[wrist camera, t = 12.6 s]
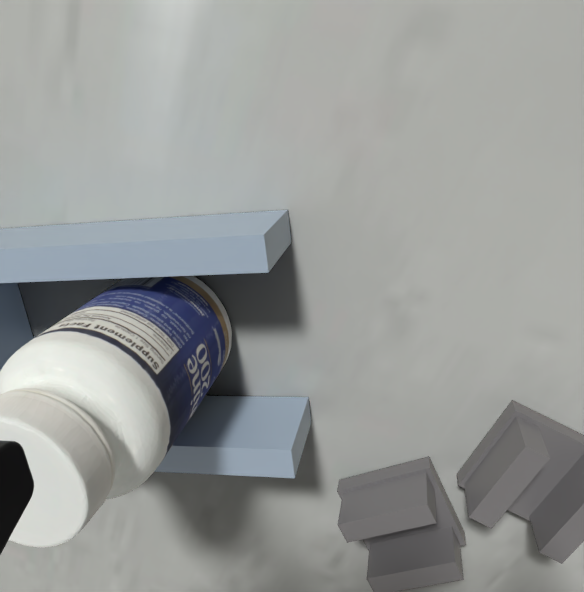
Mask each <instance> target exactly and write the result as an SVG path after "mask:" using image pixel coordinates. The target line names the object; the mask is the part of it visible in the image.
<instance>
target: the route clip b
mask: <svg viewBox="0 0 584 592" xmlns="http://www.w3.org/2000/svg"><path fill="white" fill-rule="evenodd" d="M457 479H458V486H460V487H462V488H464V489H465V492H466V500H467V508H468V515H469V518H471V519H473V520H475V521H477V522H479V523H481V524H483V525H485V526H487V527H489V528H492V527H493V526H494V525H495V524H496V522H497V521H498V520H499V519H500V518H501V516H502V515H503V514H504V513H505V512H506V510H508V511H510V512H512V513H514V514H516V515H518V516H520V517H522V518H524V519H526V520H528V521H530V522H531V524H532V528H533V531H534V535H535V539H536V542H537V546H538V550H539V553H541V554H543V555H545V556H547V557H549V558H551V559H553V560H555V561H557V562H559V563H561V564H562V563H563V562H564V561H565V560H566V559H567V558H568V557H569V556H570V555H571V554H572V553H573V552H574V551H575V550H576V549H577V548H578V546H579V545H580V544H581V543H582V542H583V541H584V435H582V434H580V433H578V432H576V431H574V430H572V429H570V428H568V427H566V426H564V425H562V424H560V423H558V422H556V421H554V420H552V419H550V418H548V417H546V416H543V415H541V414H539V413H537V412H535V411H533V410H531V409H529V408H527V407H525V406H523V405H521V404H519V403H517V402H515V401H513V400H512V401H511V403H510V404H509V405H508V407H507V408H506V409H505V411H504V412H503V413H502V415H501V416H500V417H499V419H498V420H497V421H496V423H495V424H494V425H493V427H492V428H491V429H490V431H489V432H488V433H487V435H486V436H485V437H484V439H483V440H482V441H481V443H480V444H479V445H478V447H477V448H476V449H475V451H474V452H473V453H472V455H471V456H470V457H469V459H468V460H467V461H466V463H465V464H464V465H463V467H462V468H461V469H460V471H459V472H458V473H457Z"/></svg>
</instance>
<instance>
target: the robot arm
mask: <svg viewBox="0 0 584 592" xmlns="http://www.w3.org/2000/svg"><path fill="white" fill-rule="evenodd" d="M33 491H34V480H33V477H32V474H31V471H30V468H29V465H28V462H27V458H26V455H25V452H24V449H23V447H22V446H21V445H20V444H19V443H18V442H16V441H1V440H0V554H1V553H2V551H3V549H4V547H5V545H6V543H7V542H8V540H9V538H10V536H11V534H12V532H13V531H14V529H15V527H16V525H17V523H18V521H19V520H20V518H21V516H22V514H23V512H24V510H25V508H26V507H27V505H28V503H29V501H30V499H31V497H32V494H33Z"/></svg>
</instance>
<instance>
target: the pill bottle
mask: <svg viewBox="0 0 584 592" xmlns="http://www.w3.org/2000/svg"><path fill="white" fill-rule="evenodd" d="M231 337H232V330H231V324H230V320H229V317H228V315H227V312H226V310H225V308H224V306H223V305H222V303H221V301H220V300H219V299H218V297H217V296H216V294H215V293H214V292H213V291H212V290H211V289H210V288H209V287H208V286H207V285H206V284H204V283H203V282H202V281H200V280H199V279H197V278H196V277H194V276H169V277H144V278H124V279H123V280H121V281H119V282H117V283H116V284H114V285H113V286H112V287H110V288H109V289H107V290H105V291H104V292H103V293H101V294H100V295H98V296H97V297H95V298H93V299H92V300H90V301H89V302H87V303H86V304H84V305H83V306H81V307H80V308H79V309H77V310H76V311H74V312H72V313H71V314H70V315H68V316H67V317H65V318H64V319H62V320H61V321H59V322H58V323H56V324H55V325H53V326H52V327H50V328H49V329H47V330H46V331H44V332H43V333H41V334H40V335H38V336H37V337H35V338H33V339H32V340H31V341H29V342H28V343H26V344H25V345H24V346H22V347H21V348H20V349H19V350H17V351H16V352H15V353H14V354H13V355H12V356H11V357H10V358H9V359H8V360H7V362H6V363H5V365H4V366H3V367H2V369H1V371H0V440H1V441H16V442H18V443H19V444H20V445H21V446H22V447H23V449H24V452H25V455H26V458H27V462H28V465H29V468H30V471H31V474H32V477H33V480H34V491H33V494H32V497H31V499H30V501H29V503H28V505H27V507H26V508H25V510H24V512H23V514H22V516H21V518H20V520H19V521H18V523H17V525H16V527H15V529H14V531H13V532H12V534H11V536H10V538H9V541H12V542H15V543H18V544H21V545H25V546H31V547H38V548H43V547H53V546H58V545H61V544H63V543H65V542H67V541H69V540H71V539H72V538H73V537H75V536H76V535H77V534H78V533H79V532H80V531H81V530H82V529H83V528H84V526H85V525H86V524H87V523H88V522H89V520H90V519H91V518H92V517H93V515H94V514H95V513H96V512H97V510H98V509H99V508H100V507H101V505H102V504H103V503H104V501H105V500H106V499H111V498H116V497H119V496H122V495H125V494H127V493H129V492H131V491H133V490H134V489H136V488H137V487H139V486H140V485H142V484H143V483H144V482H145V481H146V480H147V479H148V478H149V477H150V476H151V475H152V473H153V472H154V471H155V470H156V468H157V467H158V466H159V465H160V463H161V462H162V460H163V459H164V457H165V456H166V454H167V453H168V451H169V450H170V448H171V447H172V445H173V443H174V442H175V440H176V439H177V437H178V436H179V434H180V433H181V431H182V430H183V428H184V427H185V425H186V424H187V422H188V421H189V419H190V418H191V417H192V415H193V414H194V412H195V411H196V409H197V407H198V406H199V404H200V403H201V401H202V399H203V398H204V396H205V395H206V393H207V392H208V390H209V389H210V387H211V386H212V384H213V383H214V381H215V380H216V378H217V377H218V375H219V373H220V372H221V370H222V368H223V366H224V365H225V363H226V361H227V359H228V356H229V353H230V349H231Z"/></svg>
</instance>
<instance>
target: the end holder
mask: <svg viewBox="0 0 584 592" xmlns="http://www.w3.org/2000/svg"><path fill="white" fill-rule="evenodd" d="M290 243H291V233H290V224H289V215H288V210H276V211H260V212H245V213H230V214H215V215H200V216H185V217H169V218H154V219H139V220H124V221H109V222H94V223H79V224H63V225H48V226H33V227H18V228H3V229H0V371H1V369H2V367H3V366H4V365H5V363H6V362H7V360H8V359H9V358H10V357H11V356H12V355H13V354H14V353H15V352H16V351H17V350H19V349H20V348H21V347H22V346H24V345H25V344H26V343H28V342H29V341H31V340H32V339H33V335H32V331H31V328H30V325H29V321H28V318H27V314H26V311H25V308H24V304H23V301H22V297H21V294H20V291H19V287H18V284H17V283H18V282H44V281H69V280H94V279H119V278H144V277H169V276H194V275H219V274H245V273H269V271H270V270H271V269H272V267H273V266H274V265H275V263H276V262H277V261H278V259H279V258H280V257H281V255H282V254H283V253H284V251H285V250H286V249H287V247H288V246H289V245H290ZM310 425H311V415H310V405H309V397H263V396H204V398H203V399H202V401H201V403H200V404H199V406H198V407H197V409H196V411H195V412H194V414H193V415H192V417H191V418H190V419H189V421H188V422H187V424H186V425H185V427H184V428H183V430H182V431H181V433H180V434H179V436H178V437H177V439H176V440H175V442H174V443H173V445H172V447H171V448H170V450H169V451H168V453H167V454H166V456H165V457H164V459H163V460H162V462H161V463H160V465H159V466H158V467H157V468H156V470H155V471H154V472H172V473H193V474H215V475H236V476H257V477H278V478H295V476H296V473H297V469H298V466H299V463H300V459H301V456H302V452H303V449H304V446H305V442H306V439H307V435H308V432H309V429H310Z"/></svg>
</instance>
